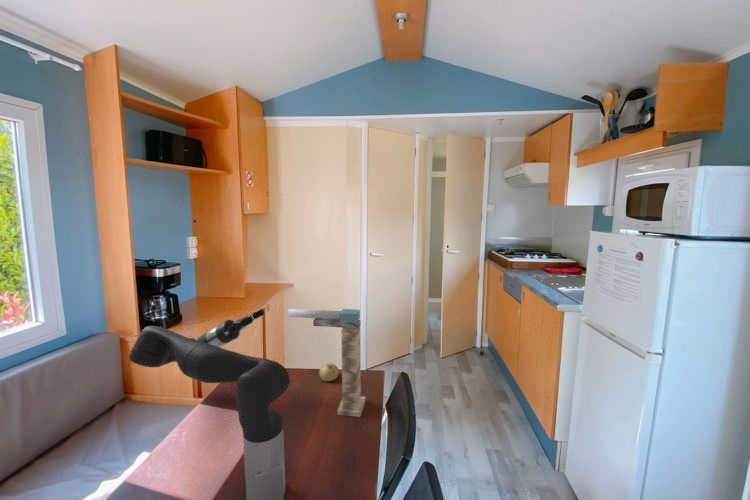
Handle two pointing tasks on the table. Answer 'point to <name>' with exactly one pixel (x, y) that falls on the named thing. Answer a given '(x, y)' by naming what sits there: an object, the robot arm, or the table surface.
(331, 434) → the table surface
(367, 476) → the table surface
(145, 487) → the table surface
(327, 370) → the onion
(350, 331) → the rail stand
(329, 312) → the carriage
